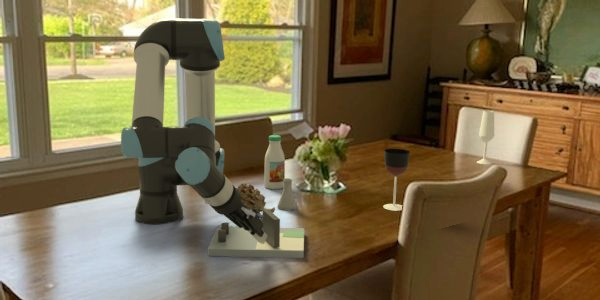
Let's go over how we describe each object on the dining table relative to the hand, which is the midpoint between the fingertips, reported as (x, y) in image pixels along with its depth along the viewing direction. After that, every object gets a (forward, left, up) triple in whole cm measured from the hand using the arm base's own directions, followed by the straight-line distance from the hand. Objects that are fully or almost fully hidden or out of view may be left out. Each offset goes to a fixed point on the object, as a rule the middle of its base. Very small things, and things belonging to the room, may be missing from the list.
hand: (263, 239), depth 163 cm
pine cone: (-5, +31, -5) cm, 32 cm away
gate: (+1, +6, -2) cm, 6 cm away
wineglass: (+42, +45, -5) cm, 62 cm away
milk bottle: (-1, +67, -5) cm, 68 cm away
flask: (+5, +42, -5) cm, 43 cm away
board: (-2, +7, -5) cm, 9 cm away
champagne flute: (+93, +115, -5) cm, 148 cm away
